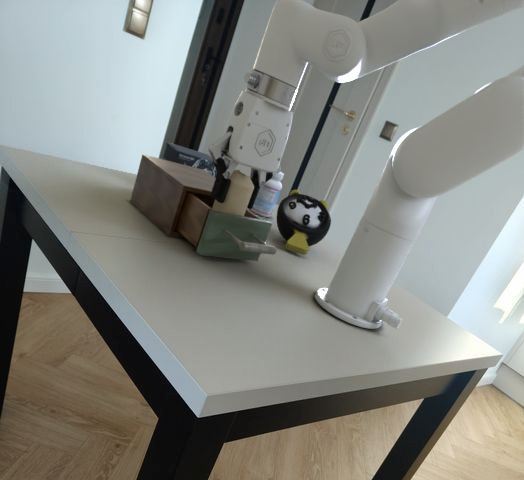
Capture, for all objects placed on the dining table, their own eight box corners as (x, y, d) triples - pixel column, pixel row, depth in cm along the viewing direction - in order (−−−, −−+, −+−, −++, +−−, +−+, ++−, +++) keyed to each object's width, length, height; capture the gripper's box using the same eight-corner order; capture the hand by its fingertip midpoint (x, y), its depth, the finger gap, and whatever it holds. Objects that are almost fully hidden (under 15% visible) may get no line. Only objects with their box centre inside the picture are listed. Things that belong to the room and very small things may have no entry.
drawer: (278, 277, 88) (294, 238, 85) (220, 272, 79) (235, 229, 76) (215, 227, 100) (227, 192, 97) (158, 218, 91) (169, 179, 88)
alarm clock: (257, 252, 114) (262, 183, 112) (299, 258, 124) (304, 195, 122) (297, 253, 105) (303, 178, 104) (338, 259, 116) (345, 192, 114)
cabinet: (231, 244, 98) (247, 199, 94) (168, 236, 88) (184, 185, 84) (190, 212, 107) (204, 169, 103) (130, 201, 97) (142, 154, 93)
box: (163, 199, 108) (177, 150, 103) (152, 188, 112) (165, 140, 108) (206, 208, 114) (221, 163, 110) (193, 198, 119) (207, 153, 114)
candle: (243, 236, 89) (263, 181, 85) (221, 234, 85) (242, 176, 81) (222, 222, 92) (242, 168, 88) (200, 220, 88) (219, 163, 83)
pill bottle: (257, 208, 135) (272, 167, 130) (274, 218, 133) (291, 176, 128) (244, 207, 130) (259, 164, 125) (262, 217, 128) (278, 174, 123)
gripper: (242, 79, 70) (201, 203, 78) (322, 114, 82) (280, 219, 90) (214, 67, 75) (178, 185, 83) (293, 101, 87) (255, 202, 94)
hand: (231, 201), depth 86 cm, fingers closed on candle, 5 cm apart
